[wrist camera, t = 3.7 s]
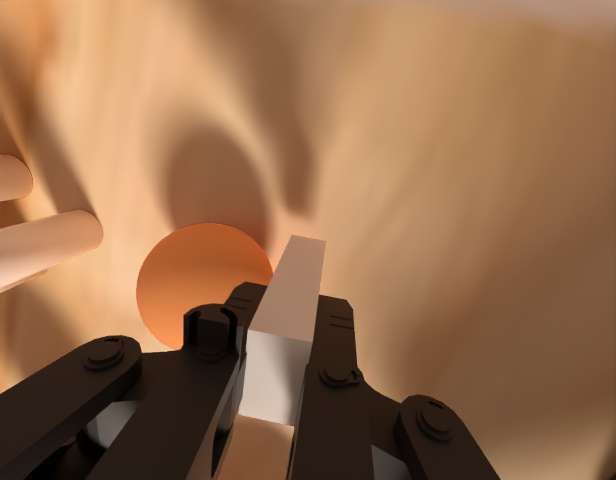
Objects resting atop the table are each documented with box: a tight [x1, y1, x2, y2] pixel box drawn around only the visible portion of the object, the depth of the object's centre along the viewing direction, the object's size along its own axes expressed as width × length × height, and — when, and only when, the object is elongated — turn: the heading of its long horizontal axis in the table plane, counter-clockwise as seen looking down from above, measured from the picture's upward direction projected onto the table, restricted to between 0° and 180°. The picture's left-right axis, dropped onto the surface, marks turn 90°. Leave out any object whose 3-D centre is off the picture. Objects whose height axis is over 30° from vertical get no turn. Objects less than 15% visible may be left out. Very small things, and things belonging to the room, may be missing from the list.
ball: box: [136, 223, 273, 350], centre depth 14 cm, size 6×6×6 cm
